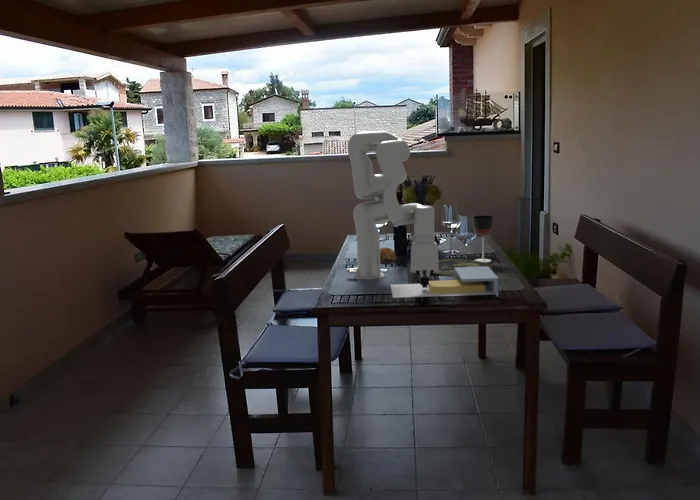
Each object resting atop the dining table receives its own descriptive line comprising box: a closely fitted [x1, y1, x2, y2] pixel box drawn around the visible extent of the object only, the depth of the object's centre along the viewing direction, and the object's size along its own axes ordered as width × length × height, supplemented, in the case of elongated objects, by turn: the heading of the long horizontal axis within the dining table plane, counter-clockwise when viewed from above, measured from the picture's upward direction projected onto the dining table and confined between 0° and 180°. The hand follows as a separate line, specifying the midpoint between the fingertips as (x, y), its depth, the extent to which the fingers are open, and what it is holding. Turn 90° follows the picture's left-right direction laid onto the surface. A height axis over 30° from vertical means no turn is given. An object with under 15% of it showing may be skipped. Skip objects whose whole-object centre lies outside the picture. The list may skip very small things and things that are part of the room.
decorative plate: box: [422, 258, 494, 277], centre depth 261 cm, size 30×2×30 cm
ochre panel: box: [428, 279, 485, 293], centre depth 228 cm, size 20×9×2 cm, turn 90°
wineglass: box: [472, 215, 494, 263], centre depth 274 cm, size 8×9×20 cm
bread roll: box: [380, 246, 397, 264], centre depth 284 cm, size 10×10×8 cm
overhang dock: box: [390, 266, 499, 299], centre depth 228 cm, size 38×18×7 cm, turn 89°
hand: (424, 286), depth 229 cm, fingers closed
